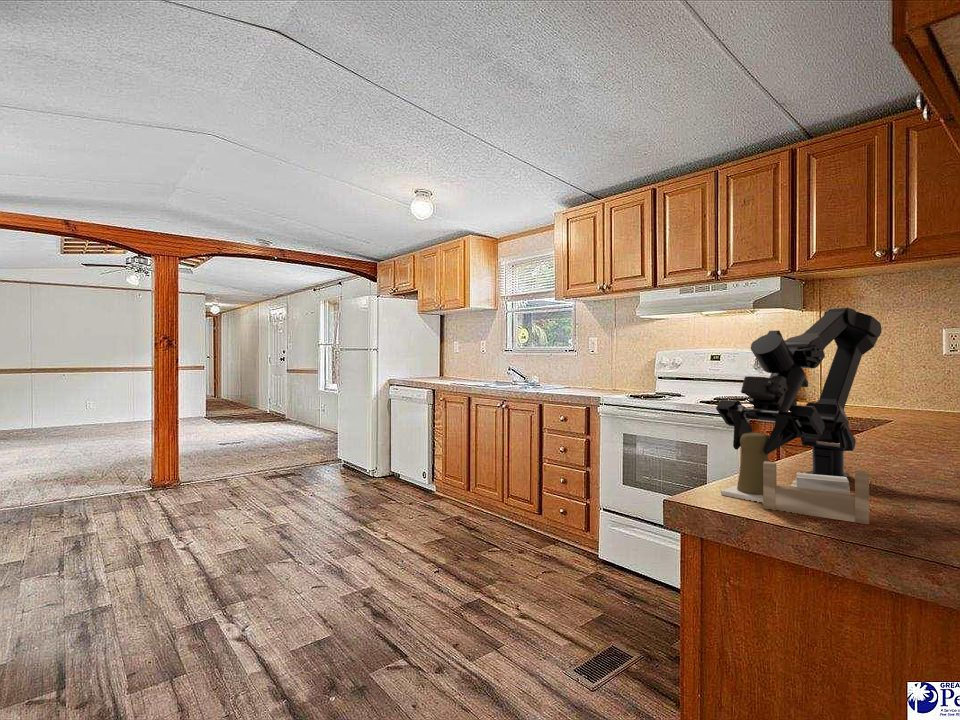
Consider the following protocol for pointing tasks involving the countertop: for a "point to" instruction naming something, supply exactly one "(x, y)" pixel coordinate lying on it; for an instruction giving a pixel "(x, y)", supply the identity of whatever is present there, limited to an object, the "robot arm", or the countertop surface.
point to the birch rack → (817, 498)
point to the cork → (752, 462)
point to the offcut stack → (822, 483)
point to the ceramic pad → (741, 494)
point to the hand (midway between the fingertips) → (749, 450)
